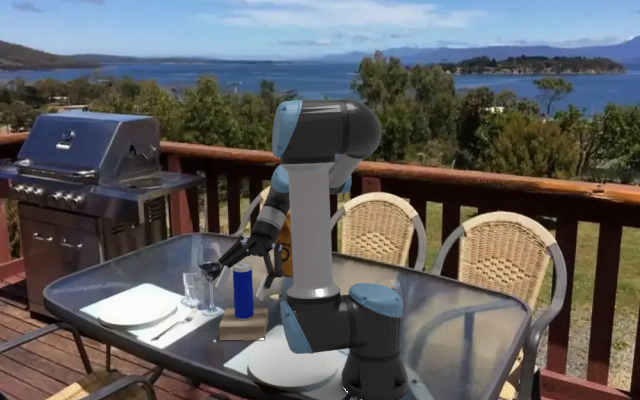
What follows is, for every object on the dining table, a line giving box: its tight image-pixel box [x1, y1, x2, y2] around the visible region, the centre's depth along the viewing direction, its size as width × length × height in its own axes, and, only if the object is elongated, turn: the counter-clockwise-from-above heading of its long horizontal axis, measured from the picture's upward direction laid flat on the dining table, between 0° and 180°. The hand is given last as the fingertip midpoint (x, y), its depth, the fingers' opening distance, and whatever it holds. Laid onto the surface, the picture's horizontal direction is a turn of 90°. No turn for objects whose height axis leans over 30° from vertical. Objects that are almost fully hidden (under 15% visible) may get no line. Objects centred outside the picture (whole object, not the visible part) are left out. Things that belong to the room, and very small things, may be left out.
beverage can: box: [232, 262, 255, 320], centre depth 155 cm, size 5×5×15 cm
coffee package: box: [273, 212, 293, 278], centre depth 200 cm, size 10×12×22 cm
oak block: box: [218, 307, 269, 341], centre depth 157 cm, size 12×12×4 cm
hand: (237, 293), depth 153 cm, fingers open, 13 cm apart
